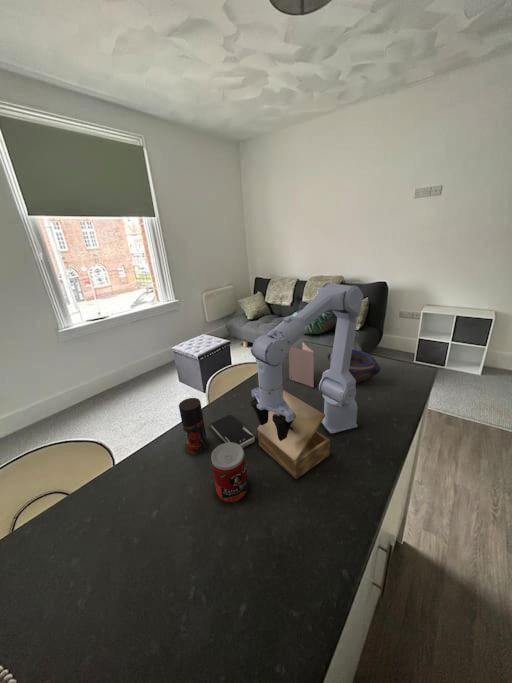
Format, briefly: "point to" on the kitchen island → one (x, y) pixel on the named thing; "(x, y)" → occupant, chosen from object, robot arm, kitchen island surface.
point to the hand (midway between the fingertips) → (273, 430)
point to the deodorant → (193, 425)
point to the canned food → (229, 471)
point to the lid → (294, 427)
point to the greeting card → (302, 365)
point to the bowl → (361, 365)
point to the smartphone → (232, 431)
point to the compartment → (307, 460)
